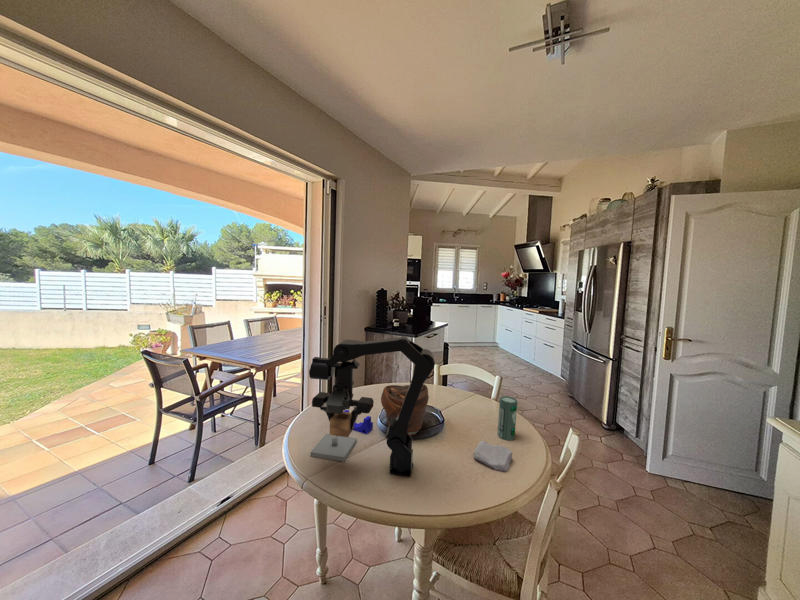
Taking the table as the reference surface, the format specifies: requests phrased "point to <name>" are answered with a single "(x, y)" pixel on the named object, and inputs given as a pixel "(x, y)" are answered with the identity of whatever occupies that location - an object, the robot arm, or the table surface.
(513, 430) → the can
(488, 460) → the stone block
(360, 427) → the blue curved bracket
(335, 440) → the post stand
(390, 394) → the brown pot
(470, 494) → the table surface
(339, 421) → the wooden hollow block
